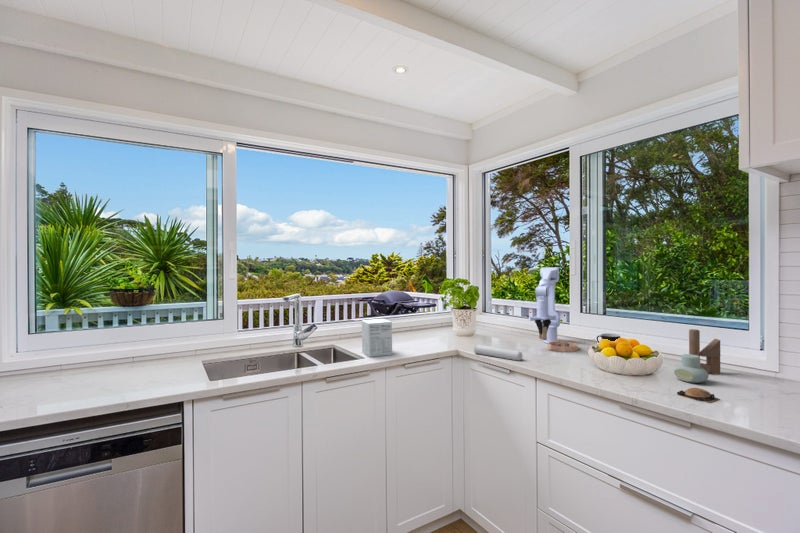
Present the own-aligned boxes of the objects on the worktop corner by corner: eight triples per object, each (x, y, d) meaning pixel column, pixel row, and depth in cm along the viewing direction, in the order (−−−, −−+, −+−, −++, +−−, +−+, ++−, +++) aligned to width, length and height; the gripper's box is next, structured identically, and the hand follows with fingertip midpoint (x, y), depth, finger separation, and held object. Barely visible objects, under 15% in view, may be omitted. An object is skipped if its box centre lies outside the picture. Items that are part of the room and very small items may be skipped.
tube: (525, 351, 192) (480, 344, 209) (520, 350, 188) (475, 343, 205) (523, 362, 191) (478, 354, 207) (518, 361, 187) (473, 353, 204)
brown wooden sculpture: (720, 374, 162) (720, 330, 162) (691, 373, 164) (691, 330, 164) (715, 371, 166) (715, 329, 166) (687, 371, 168) (686, 329, 168)
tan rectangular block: (539, 338, 212) (539, 325, 212) (542, 338, 213) (542, 325, 212) (543, 340, 207) (542, 327, 207) (546, 340, 208) (546, 326, 207)
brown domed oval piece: (721, 401, 134) (721, 390, 134) (708, 405, 130) (708, 394, 130) (687, 392, 143) (687, 382, 143) (674, 395, 139) (674, 385, 139)
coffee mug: (624, 356, 194) (623, 336, 194) (606, 356, 194) (606, 336, 194) (611, 351, 206) (611, 332, 205) (595, 351, 206) (595, 332, 206)
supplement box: (393, 354, 206) (392, 321, 206) (368, 357, 201) (368, 323, 201) (384, 349, 218) (384, 318, 218) (361, 352, 213) (361, 319, 213)
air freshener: (669, 378, 158) (669, 353, 158) (683, 376, 161) (683, 351, 161) (698, 386, 148) (698, 359, 147) (713, 383, 151) (712, 357, 150)
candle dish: (543, 346, 221) (543, 340, 221) (569, 345, 222) (569, 340, 222) (555, 352, 206) (555, 346, 206) (583, 351, 207) (583, 345, 207)
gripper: (532, 309, 205) (532, 335, 206) (559, 309, 206) (559, 334, 206) (527, 308, 212) (527, 333, 213) (553, 307, 213) (553, 332, 213)
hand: (542, 333), depth 210 cm, fingers closed on tan rectangular block, 2 cm apart
